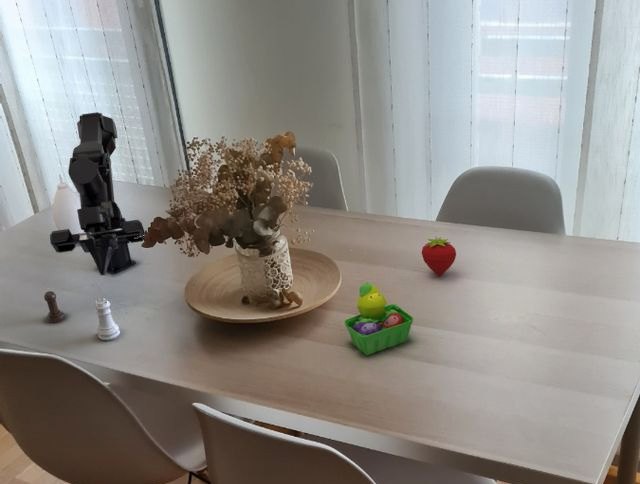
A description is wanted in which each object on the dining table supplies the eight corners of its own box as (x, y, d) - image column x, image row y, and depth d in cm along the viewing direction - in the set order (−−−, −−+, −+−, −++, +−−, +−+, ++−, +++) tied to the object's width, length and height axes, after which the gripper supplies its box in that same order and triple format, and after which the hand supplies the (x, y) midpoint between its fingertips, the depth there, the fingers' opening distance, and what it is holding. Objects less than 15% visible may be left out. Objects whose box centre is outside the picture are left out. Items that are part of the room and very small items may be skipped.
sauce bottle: (88, 247, 215) (71, 177, 205) (57, 249, 215) (38, 180, 206) (95, 234, 221) (79, 166, 212) (65, 236, 222) (48, 169, 212)
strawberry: (449, 284, 182) (449, 241, 176) (417, 279, 185) (416, 236, 180) (460, 273, 186) (461, 230, 181) (428, 267, 189) (427, 225, 184)
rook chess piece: (124, 331, 176) (116, 296, 172) (113, 342, 173) (104, 307, 169) (105, 329, 178) (97, 294, 173) (94, 340, 174) (85, 305, 170)
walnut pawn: (58, 313, 185) (50, 286, 182) (67, 317, 184) (60, 290, 180) (44, 320, 183) (37, 293, 180) (54, 324, 181) (46, 297, 178)
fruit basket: (363, 361, 159) (360, 307, 153) (341, 340, 166) (336, 288, 160) (416, 342, 163) (414, 289, 157) (391, 323, 170) (389, 271, 164)
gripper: (39, 194, 174) (46, 267, 170) (133, 182, 175) (142, 254, 172) (53, 217, 184) (60, 285, 181) (141, 205, 186) (150, 273, 182)
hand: (102, 274), depth 179 cm, fingers closed
